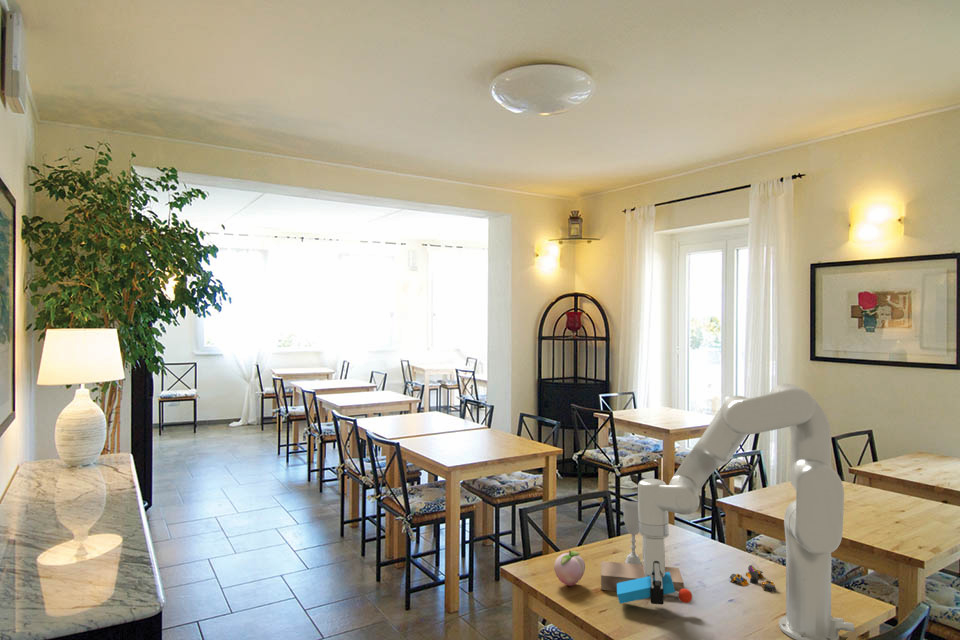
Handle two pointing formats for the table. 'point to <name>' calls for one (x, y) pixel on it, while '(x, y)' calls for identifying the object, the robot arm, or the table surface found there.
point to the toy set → (753, 579)
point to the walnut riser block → (632, 575)
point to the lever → (642, 589)
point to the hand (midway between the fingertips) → (655, 596)
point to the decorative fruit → (569, 568)
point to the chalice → (632, 528)
